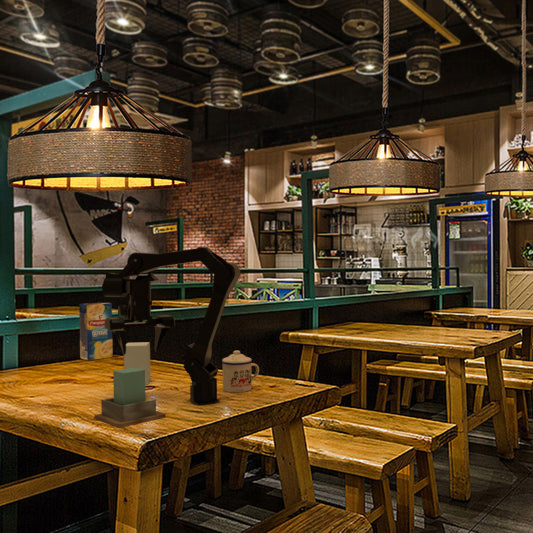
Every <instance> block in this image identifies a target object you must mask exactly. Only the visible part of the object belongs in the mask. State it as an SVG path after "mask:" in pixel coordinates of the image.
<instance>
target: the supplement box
mask: <svg viewBox="0 0 533 533" xmlns="http://www.w3.org/2000/svg"><path fill="white" fill-rule="evenodd" d="M150 345H151V343H150V341H148V342H146V341H145V342H142V341H141V342H126V354H123V369H128V368H139V369H143V370H145V386H147V385H149V383H150V382H151V379H152V378H151V346H150Z"/></svg>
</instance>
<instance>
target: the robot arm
mask: <svg viewBox="0 0 533 533" xmlns="http://www.w3.org/2000/svg"><path fill="white" fill-rule="evenodd" d="M197 262H200V263H202V264H203V265H204V267H206V268H207V269H208V270H209V271H210V272H211V273H213V280H212V294H211V297H210V299H209V303H208V306H207V309H206V312H205V315H204V318H203V321H202V324H201V327H200V329H199V332H198V335H197V339H196V340H195V342H193V343H191V344H188V345H187V346H186V348H185V353H184V354H185V355H184V357H183V358H181V360H182V361H183V368H184V370H185V372H186V373H187V374H188V375H189V378H190V380H191V384H190V385H189V395H190V397H189V401H190V402H191V403H194V404H196V405H197V406H200V405H207V404H213V403H214V404H215V403H220V402H221V400H220V399H218V379H217V378H216V377H217V376H218V372H219V369H218V367H217V366H216V365H214V364H213V362H212V361H211V359H212V354H213V353H212V352H213V350H212V347H213V346H212V344H213V341H214V338H215V335H216V332H217V329H218V327H219V326H218V325H219V323H220V320H221V318H222V315H223V312H224V308H225V305H226V303H227V300H228V297H229V295H230V294H231V292H232V291H233V289H234V288H235V286H236V285H237V282H238V281H239V279H240V278H241V277H240V276H241V270H240V267H239V266H238V264H236V263H234V262H229V261H227V260H226V259H224V258H223V257H222V256H220V255H218V254H217V253H216V252H214V251H213V250H212V249H211V248H209V247H208V246H199V247H197V248H190V249H189V248H188V249H183V250H182V249H181V250H176V251H168V252H161V253H156V252H133V253H131V254H130V255H129V257H128V258H127V259H126V265H125V266H124V267H123V269H122V270H121V272H119V273H115V272H106V273H105V277H104V279H103V282H102V285H101V291H102V294H103V296H104V297H105V298H108V297H111V298H126V297H127V296H128V294H129V300H128V306H127V305H125V304H121V305H120V304H119V305H118V306H117V316H118V317H112V318H107V319H106V320H105V328H107V329H109V330H110V331H112V333H114V335H115V336H116V339H117V340H118V343H119V346H120V348H121V352H122V354H123V355H124V354H126V344H127V337H126V336H127V334H126V332H127V330H125V329H124V328H125V327H137V326H151V325H153V326H154V325H155V326H154V331H155V332H154V333H155V334H154V336H155V337H154V351H155V353H157V352H158V351H159V348H160V347H161V344H162V342H163V340H164V338H165V336H166V334H167V332H168V330H172V328H171V327H175V326H176V319H175V317H174V316H172V315H169V314H163V315H159V314H158V315H155V317H153V315H152V313H151V312H152V306H153V301H152V293H151V292H152V283H151V282H158V281H159V278H158V277H157V275H156V276H155V274H154V273H153V272H152V271H156V270H158V269H160V268H164V267H168V266H175V265H182V264H190V263H191V264H192V263H197ZM145 273H146V274H145ZM147 273H148V274H147ZM141 274H143V275H141ZM144 274H145V275H144ZM130 277H135V278H130Z"/></svg>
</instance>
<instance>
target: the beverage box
mask: <svg viewBox="0 0 533 533" xmlns="http://www.w3.org/2000/svg"><path fill="white" fill-rule="evenodd" d="M78 305H79V306H78V307H79V312H78V313H79V358H80V359H82V360H86V361H92V360H99V359H107V358H113V356H114V355H113V332H112V331H110V330H109V329H107V328H105V320H106V319H107V318H113V304H112V303H111V302H93V303H92V302H89V303H79V304H78Z"/></svg>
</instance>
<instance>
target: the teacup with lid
mask: <svg viewBox="0 0 533 533" xmlns="http://www.w3.org/2000/svg"><path fill="white" fill-rule="evenodd" d="M252 362H253V361H252V358H251V357H248V356H246V355H245V354H243V353H241V351H240V350H234V351H232V354H229V356H227V357H224V358H222V359H221V363H222V389H223V391H224V392H227V393H246V392H248V391H251V390H252V386H253V385H252V381H254V380H255V379H256V378H257V377H258V376H259V374H260V373H259V372H260V367H259V365H258V364H256V363H252ZM252 367H254V368H255V373H254V374H253V376H252Z"/></svg>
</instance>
